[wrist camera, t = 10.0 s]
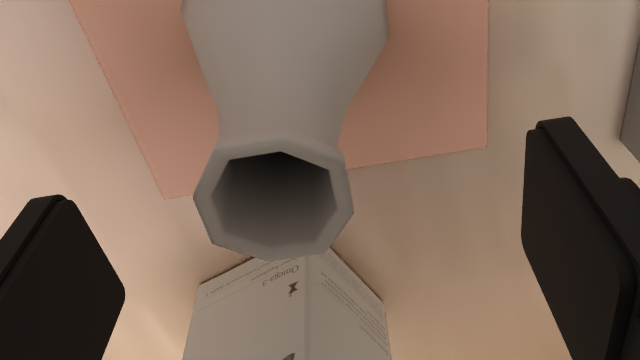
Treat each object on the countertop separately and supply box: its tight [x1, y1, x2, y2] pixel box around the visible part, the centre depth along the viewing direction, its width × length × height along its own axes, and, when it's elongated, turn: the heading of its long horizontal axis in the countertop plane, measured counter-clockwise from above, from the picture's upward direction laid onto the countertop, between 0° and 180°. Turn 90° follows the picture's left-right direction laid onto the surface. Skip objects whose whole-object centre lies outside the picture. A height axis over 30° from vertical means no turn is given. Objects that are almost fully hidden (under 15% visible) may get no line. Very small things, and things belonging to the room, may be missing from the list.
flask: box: [180, 0, 390, 261], centre depth 14 cm, size 7×7×10 cm
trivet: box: [69, 0, 488, 199], centre depth 18 cm, size 14×14×1 cm
